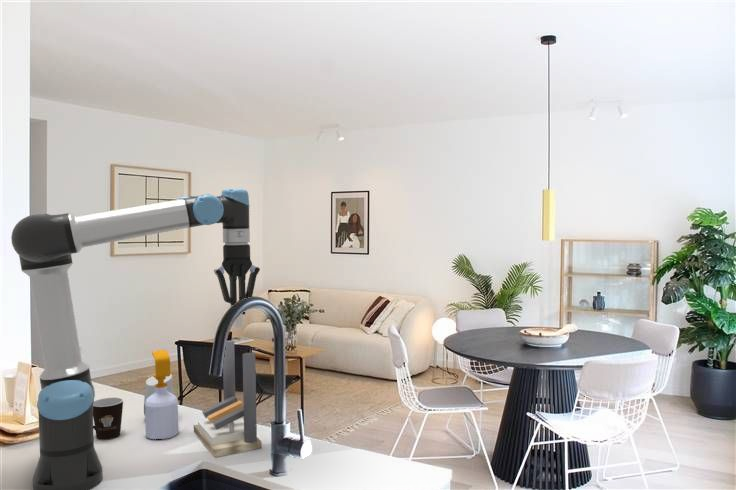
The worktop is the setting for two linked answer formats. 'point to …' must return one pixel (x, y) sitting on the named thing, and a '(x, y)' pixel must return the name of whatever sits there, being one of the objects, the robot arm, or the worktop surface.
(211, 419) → the middle paddle
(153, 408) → the soap bottle
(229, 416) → the bar
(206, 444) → the board
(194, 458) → the worktop surface
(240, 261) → the robot arm
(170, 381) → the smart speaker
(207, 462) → the worktop surface
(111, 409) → the coffee mug
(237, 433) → the block
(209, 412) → the back paddle
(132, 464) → the worktop surface
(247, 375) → the posts
